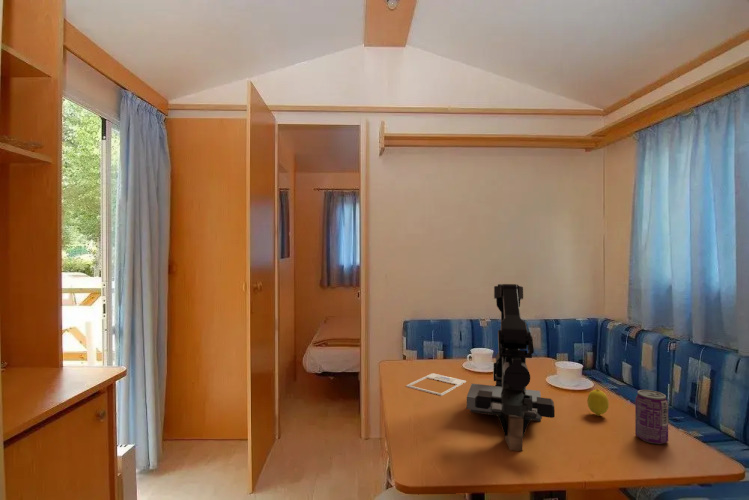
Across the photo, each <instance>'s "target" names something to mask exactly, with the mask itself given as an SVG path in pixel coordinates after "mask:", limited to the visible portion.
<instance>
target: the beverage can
mask: <svg viewBox="0 0 749 500" xmlns="http://www.w3.org/2000/svg"><path fill="white" fill-rule="evenodd" d="M634 401H635V403H634V405H635V415H634V416H635V417H634V418H635V419H634V420H635V423H634V424H635V426H634V428H635V429H634V430H635V432H634V433H635V436H637V437H638V438H640V439H641V440H642V441H644V442H646V443H648V444H649V443H650V444H653V445H662V444H666V443H668V442H669V403H668V400H667V395H666V394H664V393H662V392H660V391H655V390H651V389H639V390H637V395H636V396H635V400H634Z"/></svg>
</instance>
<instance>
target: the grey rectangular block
mask: <svg viewBox="0 0 749 500" xmlns="http://www.w3.org/2000/svg"><path fill="white" fill-rule="evenodd" d="M479 390H482V391H490V392H492V394H493V396H495V397H501V392H502V387H500V386H495V385H489V384H481V383H471V384H470V387H469V390H468V393H467V395H466V410H470V413H475V414H483V415H489V416H490V415H491V416H497V415H496V413H492V412H491V409H492V406H491V407H489V408H488V409H483V408H477V407H475V397H476V394H477V392H478V391H479ZM526 395H531V396H532V401H536V402H537V397H541V398H542V396H541V395H542V394H541V391H540V390H535V389H534V390H533V389H527V388H526ZM497 417H498V416H497ZM522 418H523V416H522ZM542 418H543V417H542V416H540V415H539V414H538V413H537V418H532V419H531V420H530V421H535V422H541V421H542Z"/></svg>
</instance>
